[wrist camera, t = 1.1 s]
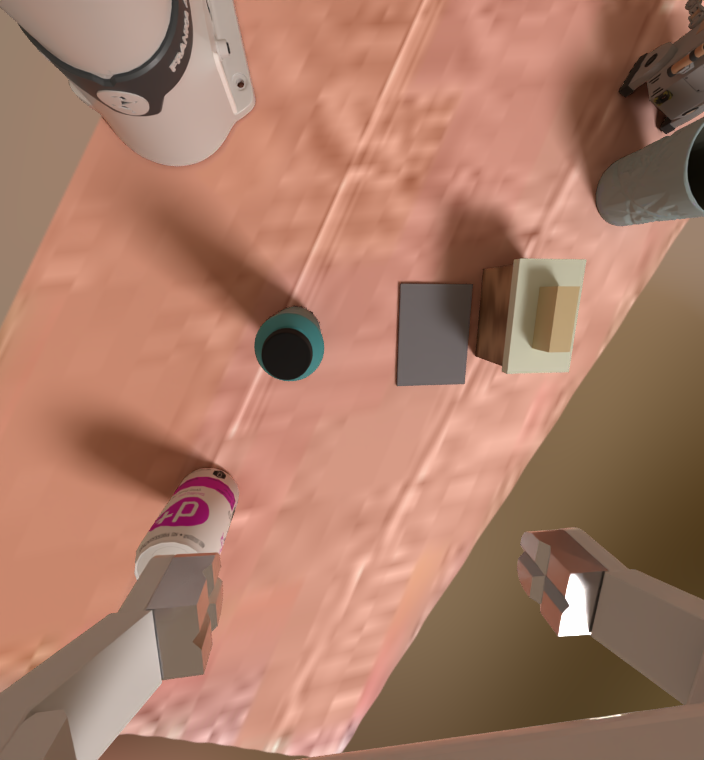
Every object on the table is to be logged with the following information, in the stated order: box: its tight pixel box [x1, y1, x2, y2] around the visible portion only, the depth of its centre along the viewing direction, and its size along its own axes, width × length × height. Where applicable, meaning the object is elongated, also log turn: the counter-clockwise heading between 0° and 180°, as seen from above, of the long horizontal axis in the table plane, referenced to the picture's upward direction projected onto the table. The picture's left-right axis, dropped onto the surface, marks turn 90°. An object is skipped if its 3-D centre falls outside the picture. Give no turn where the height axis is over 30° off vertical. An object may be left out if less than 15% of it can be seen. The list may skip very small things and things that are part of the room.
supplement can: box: [135, 468, 239, 580], centre depth 43 cm, size 8×8×15 cm
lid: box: [502, 259, 586, 374], centre depth 39 cm, size 13×8×4 cm, turn 0°
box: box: [476, 265, 513, 366], centre depth 45 cm, size 12×7×8 cm, turn 0°
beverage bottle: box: [254, 306, 324, 381], centre depth 36 cm, size 6×7×20 cm
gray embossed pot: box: [596, 117, 704, 226], centre depth 41 cm, size 10×10×12 cm
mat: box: [397, 284, 473, 386], centre depth 48 cm, size 14×10×1 cm
